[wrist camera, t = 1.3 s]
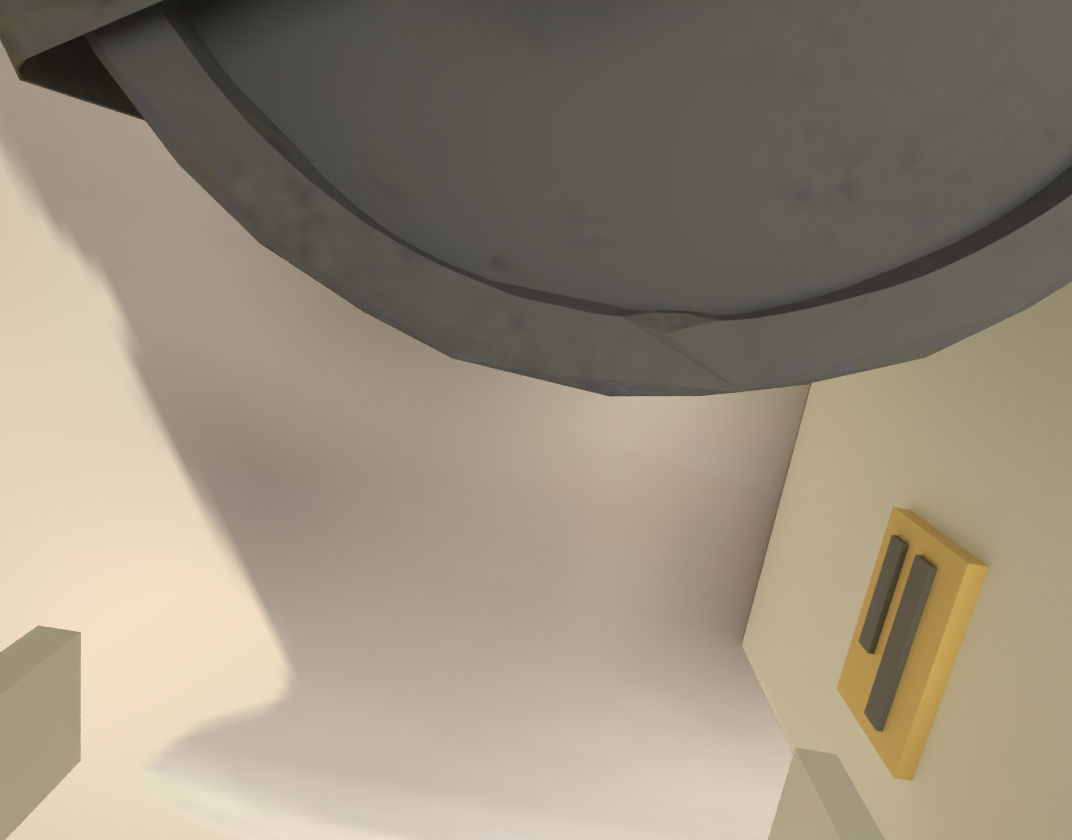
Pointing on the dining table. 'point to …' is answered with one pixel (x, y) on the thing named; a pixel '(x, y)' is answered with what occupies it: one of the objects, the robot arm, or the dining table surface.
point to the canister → (616, 167)
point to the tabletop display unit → (933, 585)
